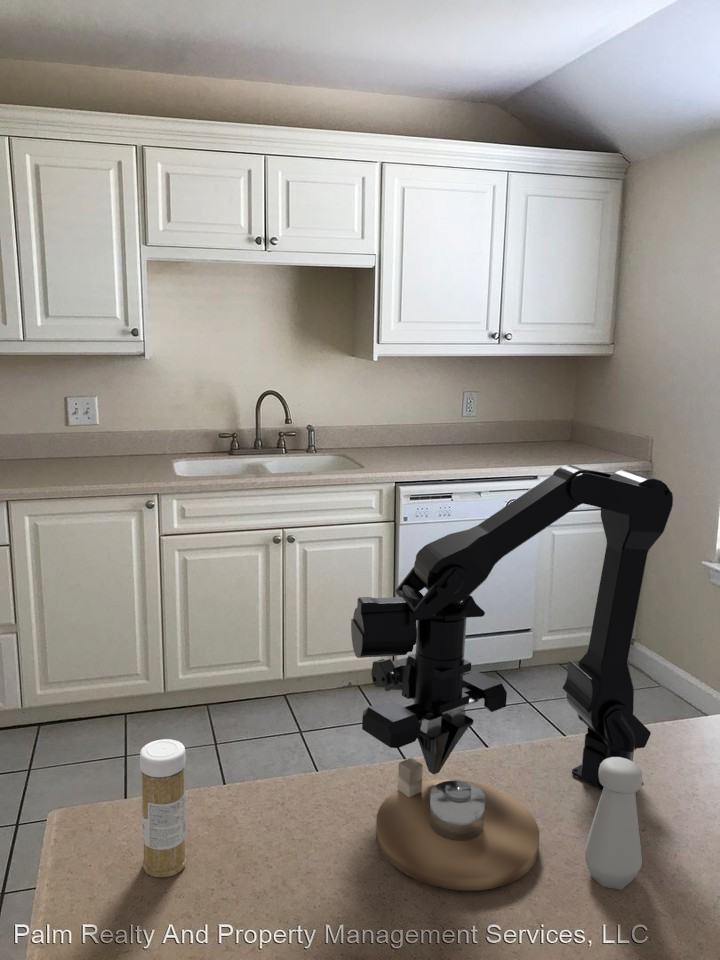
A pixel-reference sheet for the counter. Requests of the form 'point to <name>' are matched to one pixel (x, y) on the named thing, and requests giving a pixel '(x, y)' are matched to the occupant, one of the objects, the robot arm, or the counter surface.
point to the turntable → (448, 862)
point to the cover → (457, 810)
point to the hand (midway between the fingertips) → (433, 772)
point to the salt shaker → (615, 826)
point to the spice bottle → (163, 807)
